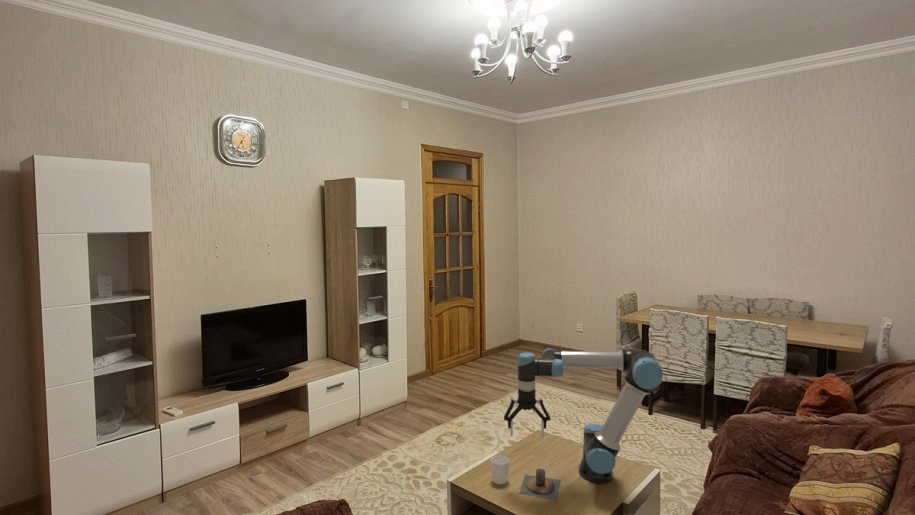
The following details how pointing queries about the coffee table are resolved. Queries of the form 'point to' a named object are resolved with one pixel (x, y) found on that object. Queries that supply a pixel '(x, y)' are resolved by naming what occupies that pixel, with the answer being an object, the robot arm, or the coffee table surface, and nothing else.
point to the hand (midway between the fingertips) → (527, 435)
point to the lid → (540, 483)
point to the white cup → (500, 469)
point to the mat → (551, 495)
